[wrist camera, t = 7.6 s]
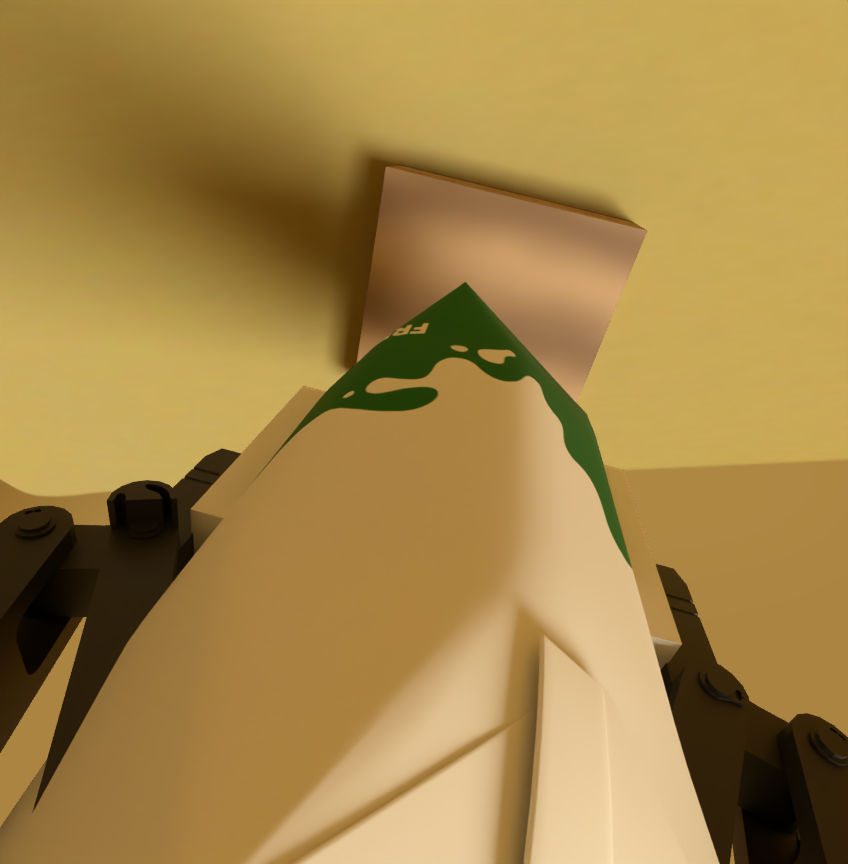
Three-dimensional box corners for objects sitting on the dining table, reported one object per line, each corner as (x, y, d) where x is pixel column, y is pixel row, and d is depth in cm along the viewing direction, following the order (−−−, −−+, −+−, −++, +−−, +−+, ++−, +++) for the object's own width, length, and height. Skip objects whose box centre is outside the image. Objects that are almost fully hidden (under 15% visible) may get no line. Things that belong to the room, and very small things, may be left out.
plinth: (400, 164, 30) (385, 166, 27) (632, 221, 30) (647, 230, 26) (366, 375, 37) (351, 398, 34) (552, 424, 37) (556, 452, 33)
